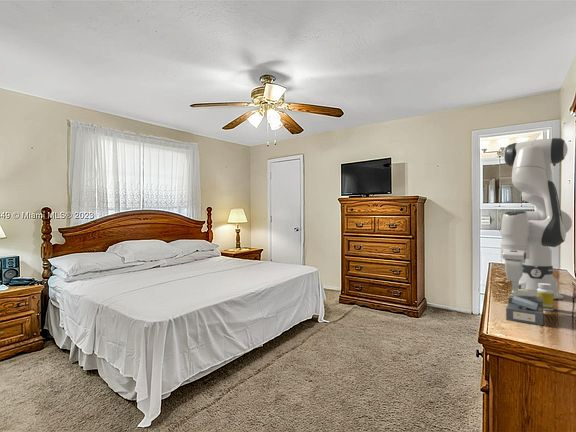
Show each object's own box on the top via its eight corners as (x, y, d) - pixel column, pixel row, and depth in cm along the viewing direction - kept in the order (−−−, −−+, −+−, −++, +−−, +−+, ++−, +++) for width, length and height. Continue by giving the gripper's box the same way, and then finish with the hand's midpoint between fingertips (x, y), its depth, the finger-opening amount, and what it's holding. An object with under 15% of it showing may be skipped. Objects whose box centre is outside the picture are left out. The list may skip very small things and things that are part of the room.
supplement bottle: (557, 311, 122) (556, 285, 122) (540, 310, 123) (540, 285, 124) (548, 307, 128) (548, 282, 128) (533, 306, 129) (532, 282, 129)
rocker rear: (515, 292, 124) (514, 289, 124) (537, 293, 119) (537, 289, 119) (513, 295, 119) (513, 291, 119) (537, 296, 115) (537, 292, 115)
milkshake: (529, 304, 132) (529, 280, 132) (513, 302, 135) (513, 279, 135) (527, 302, 136) (527, 278, 136) (512, 300, 139) (512, 277, 139)
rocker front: (512, 299, 117) (513, 295, 117) (536, 307, 112) (537, 303, 112) (511, 302, 112) (512, 298, 112) (536, 310, 108) (537, 306, 108)
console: (510, 308, 126) (510, 291, 126) (543, 313, 120) (542, 294, 120) (506, 319, 112) (506, 300, 112) (542, 325, 105) (542, 304, 105)
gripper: (507, 251, 131) (508, 285, 131) (501, 254, 116) (502, 293, 115) (527, 252, 127) (527, 287, 127) (523, 255, 111) (523, 295, 111)
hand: (515, 290), depth 121 cm, fingers closed, pressing on rocker rear
